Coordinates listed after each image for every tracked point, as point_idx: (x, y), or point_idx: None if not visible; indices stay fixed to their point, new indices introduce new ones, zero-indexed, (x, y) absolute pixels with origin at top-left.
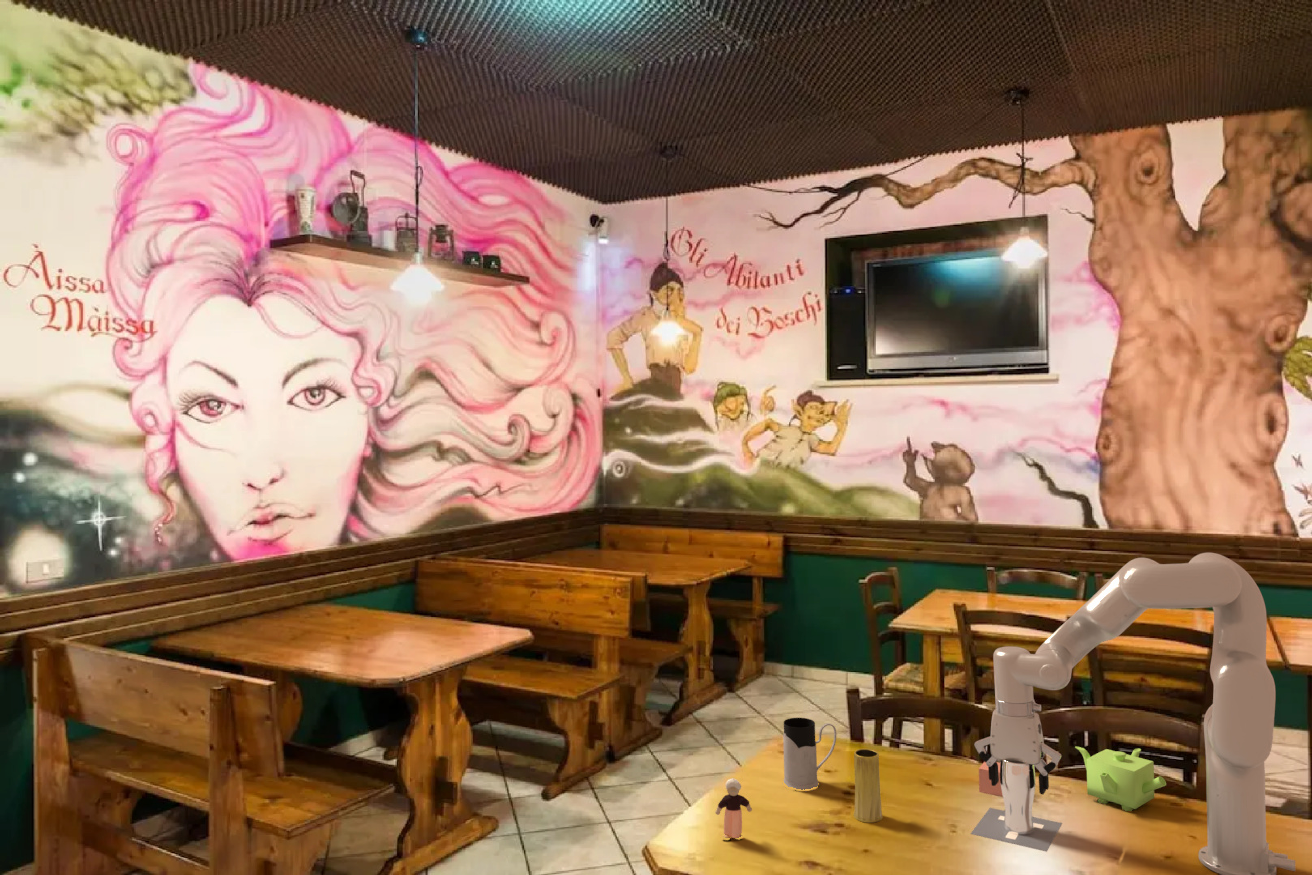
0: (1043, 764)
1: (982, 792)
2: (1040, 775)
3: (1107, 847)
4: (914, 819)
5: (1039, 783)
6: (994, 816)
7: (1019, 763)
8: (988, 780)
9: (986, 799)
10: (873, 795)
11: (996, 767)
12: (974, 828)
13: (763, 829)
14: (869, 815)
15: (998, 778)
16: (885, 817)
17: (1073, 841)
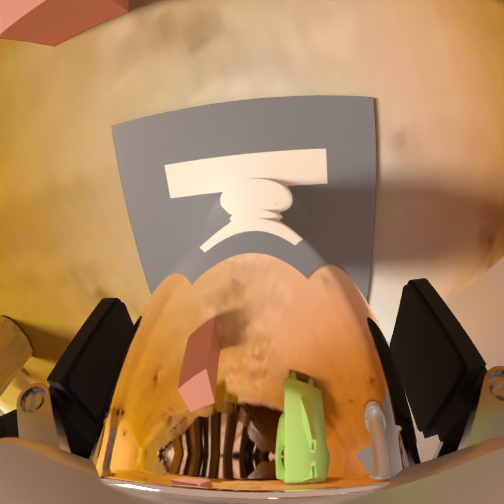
0: (491, 434)
1: (58, 41)
2: (430, 436)
3: (482, 195)
4: (46, 311)
5: (408, 392)
6: (152, 184)
7: (213, 351)
8: (46, 24)
9: (80, 63)
10: (8, 383)
11: (97, 403)
12: None
13: (15, 399)
14: (25, 362)
15: (117, 314)
16: (23, 326)
17: (418, 205)
